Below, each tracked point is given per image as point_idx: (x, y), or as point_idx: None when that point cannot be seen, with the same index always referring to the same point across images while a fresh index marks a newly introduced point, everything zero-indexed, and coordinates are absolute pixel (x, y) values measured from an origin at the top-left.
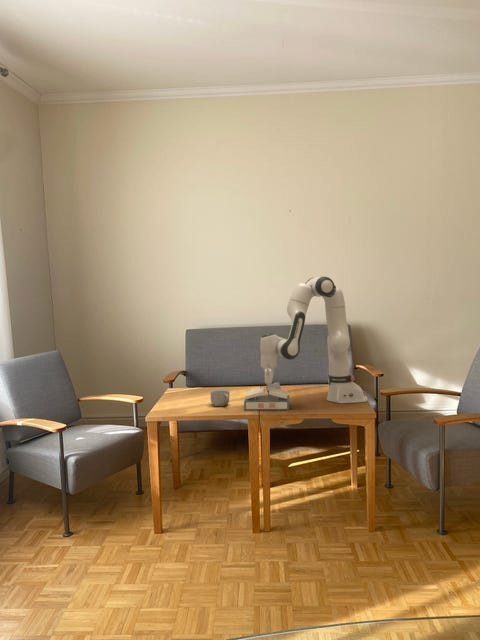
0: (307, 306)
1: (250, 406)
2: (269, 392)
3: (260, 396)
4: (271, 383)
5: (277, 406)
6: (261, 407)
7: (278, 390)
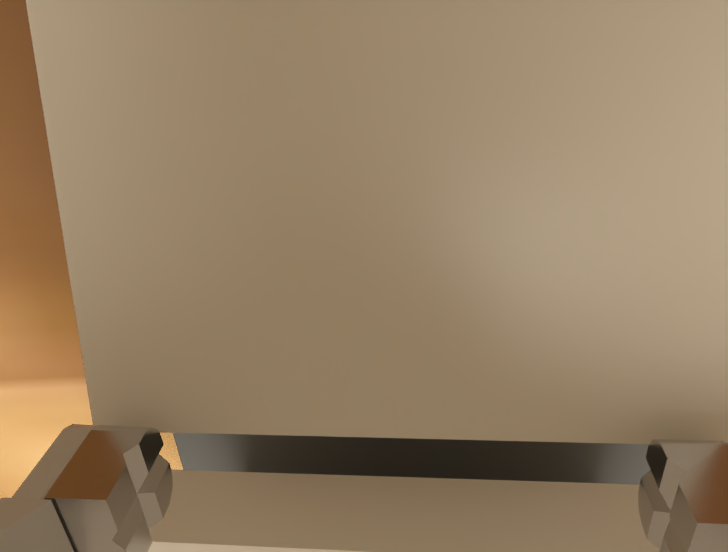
0: None
1: None
2: (720, 412)
3: (271, 450)
4: (40, 494)
5: None
6: None
7: (252, 155)
